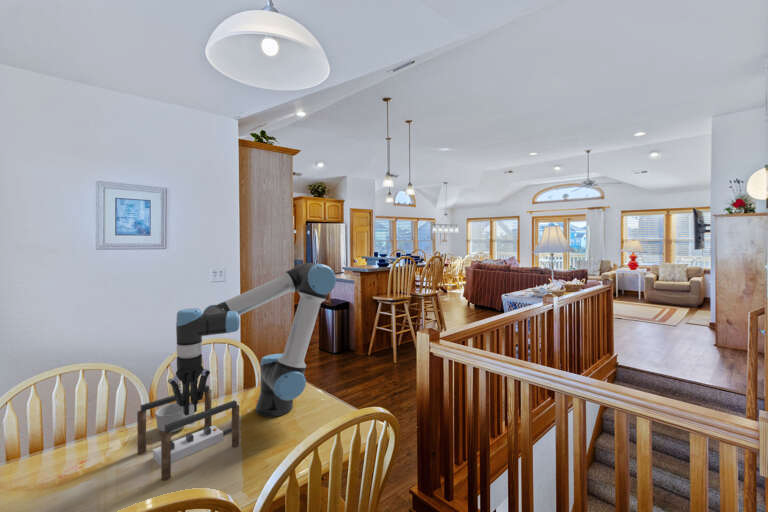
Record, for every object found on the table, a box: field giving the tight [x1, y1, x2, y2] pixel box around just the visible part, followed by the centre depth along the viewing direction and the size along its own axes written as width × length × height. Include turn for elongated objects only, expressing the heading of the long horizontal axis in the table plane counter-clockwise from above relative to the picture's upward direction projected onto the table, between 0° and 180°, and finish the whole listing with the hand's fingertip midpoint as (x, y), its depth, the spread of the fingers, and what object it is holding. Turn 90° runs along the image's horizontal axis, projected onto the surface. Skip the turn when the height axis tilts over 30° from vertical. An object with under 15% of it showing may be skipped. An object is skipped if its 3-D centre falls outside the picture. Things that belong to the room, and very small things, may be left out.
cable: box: [165, 399, 238, 432], centre depth 114 cm, size 22×2×2 cm, turn 142°
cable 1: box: [140, 384, 210, 411], centre depth 127 cm, size 22×2×2 cm, turn 142°
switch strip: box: [152, 425, 232, 468], centre depth 123 cm, size 26×7×5 cm, turn 142°
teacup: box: [155, 402, 186, 434], centre depth 135 cm, size 14×11×8 cm
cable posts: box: [136, 388, 240, 482], centre depth 121 cm, size 24×22×14 cm
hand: (190, 422), depth 121 cm, fingers closed
